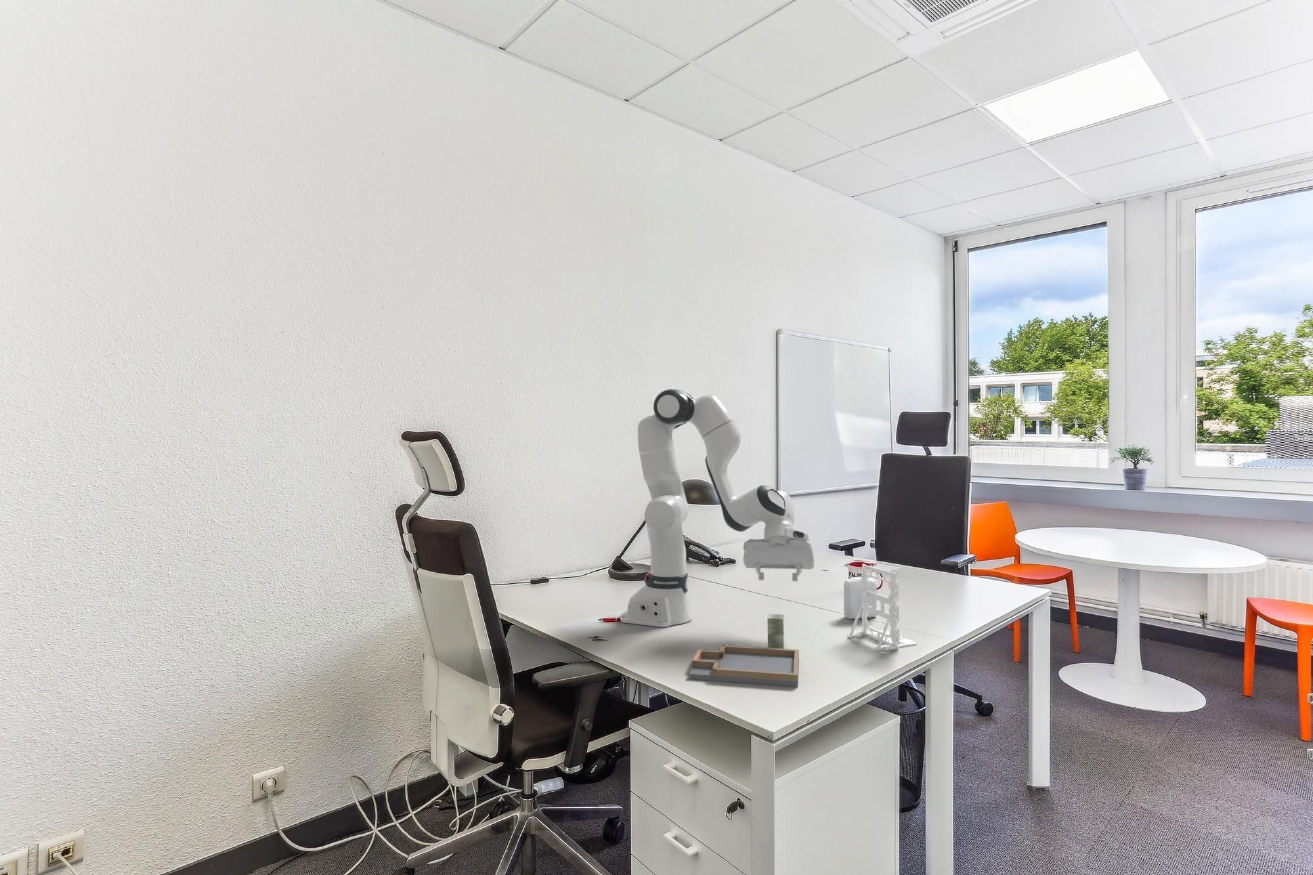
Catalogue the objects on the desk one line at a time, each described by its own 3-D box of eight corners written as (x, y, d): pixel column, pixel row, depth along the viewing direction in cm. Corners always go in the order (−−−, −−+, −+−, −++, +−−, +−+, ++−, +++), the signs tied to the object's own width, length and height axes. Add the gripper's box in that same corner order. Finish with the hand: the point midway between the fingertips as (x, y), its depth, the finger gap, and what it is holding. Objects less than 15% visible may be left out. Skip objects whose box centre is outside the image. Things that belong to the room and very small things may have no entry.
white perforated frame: (921, 645, 168) (920, 570, 168) (879, 652, 163) (878, 575, 163) (884, 630, 181) (883, 561, 181) (844, 636, 176) (843, 565, 176)
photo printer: (871, 613, 198) (870, 574, 198) (879, 617, 194) (878, 577, 194) (841, 616, 195) (841, 576, 195) (849, 620, 191) (848, 579, 191)
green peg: (768, 652, 165) (767, 618, 165) (769, 647, 169) (768, 613, 168) (783, 653, 164) (783, 618, 164) (784, 648, 168) (783, 614, 168)
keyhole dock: (689, 678, 148) (688, 667, 148) (701, 654, 164) (700, 643, 164) (797, 686, 142) (797, 674, 142) (799, 660, 158) (798, 649, 158)
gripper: (742, 533, 188) (740, 572, 178) (813, 533, 183) (814, 574, 173) (745, 545, 192) (742, 584, 183) (813, 546, 187) (814, 586, 178)
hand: (778, 579), depth 178 cm, fingers open, 8 cm apart
